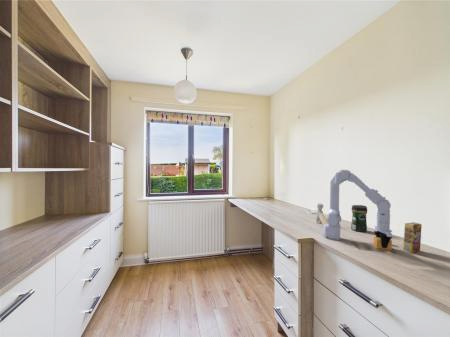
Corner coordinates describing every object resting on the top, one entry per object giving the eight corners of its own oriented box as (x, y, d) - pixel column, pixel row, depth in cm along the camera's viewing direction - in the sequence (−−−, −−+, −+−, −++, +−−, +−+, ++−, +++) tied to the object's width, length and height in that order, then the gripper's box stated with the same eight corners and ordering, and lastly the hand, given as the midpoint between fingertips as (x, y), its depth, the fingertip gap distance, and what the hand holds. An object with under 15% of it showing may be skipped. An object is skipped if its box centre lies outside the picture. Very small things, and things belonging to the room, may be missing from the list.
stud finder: (376, 248, 116) (377, 239, 116) (373, 245, 119) (373, 236, 119) (391, 249, 114) (391, 240, 114) (387, 247, 118) (388, 238, 118)
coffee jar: (361, 229, 159) (362, 204, 159) (368, 232, 151) (369, 206, 151) (348, 228, 159) (349, 204, 159) (355, 231, 151) (356, 205, 151)
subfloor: (360, 253, 111) (360, 251, 111) (348, 241, 129) (348, 239, 129) (405, 258, 106) (405, 256, 106) (386, 245, 124) (386, 243, 124)
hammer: (333, 219, 144) (322, 203, 173) (326, 219, 145) (316, 202, 174) (331, 240, 147) (320, 220, 176) (324, 240, 148) (315, 220, 177)
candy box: (412, 253, 113) (413, 225, 113) (402, 250, 117) (403, 223, 117) (421, 251, 117) (422, 223, 117) (411, 248, 121) (412, 221, 121)
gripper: (399, 225, 109) (398, 252, 109) (384, 219, 123) (384, 242, 123) (383, 224, 110) (382, 250, 110) (371, 218, 124) (370, 241, 124)
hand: (382, 246), depth 117 cm, fingers closed on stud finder, 4 cm apart
